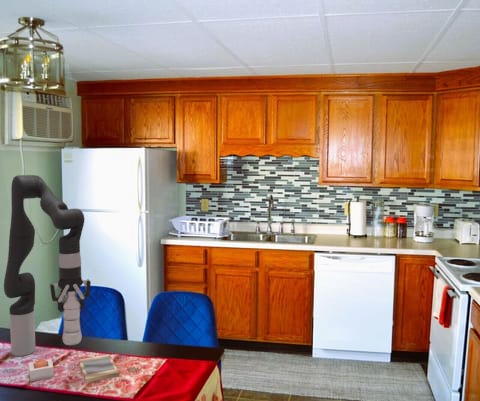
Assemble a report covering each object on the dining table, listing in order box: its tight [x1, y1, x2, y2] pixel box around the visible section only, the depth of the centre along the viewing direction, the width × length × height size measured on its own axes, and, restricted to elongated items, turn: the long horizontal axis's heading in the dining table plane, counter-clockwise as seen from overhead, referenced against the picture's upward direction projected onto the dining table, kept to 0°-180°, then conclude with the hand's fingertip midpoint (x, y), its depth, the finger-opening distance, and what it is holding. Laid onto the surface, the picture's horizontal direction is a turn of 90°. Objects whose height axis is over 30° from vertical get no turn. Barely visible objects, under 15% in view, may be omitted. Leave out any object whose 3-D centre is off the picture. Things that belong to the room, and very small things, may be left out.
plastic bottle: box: [61, 291, 83, 346], centre depth 171 cm, size 6×7×20 cm
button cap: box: [34, 359, 47, 368], centre depth 177 cm, size 4×4×4 cm
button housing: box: [28, 358, 55, 383], centre depth 177 cm, size 8×8×4 cm
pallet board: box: [78, 354, 120, 384], centre depth 182 cm, size 18×12×2 cm, turn 27°
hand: (71, 310), depth 171 cm, fingers closed on plastic bottle, 6 cm apart
